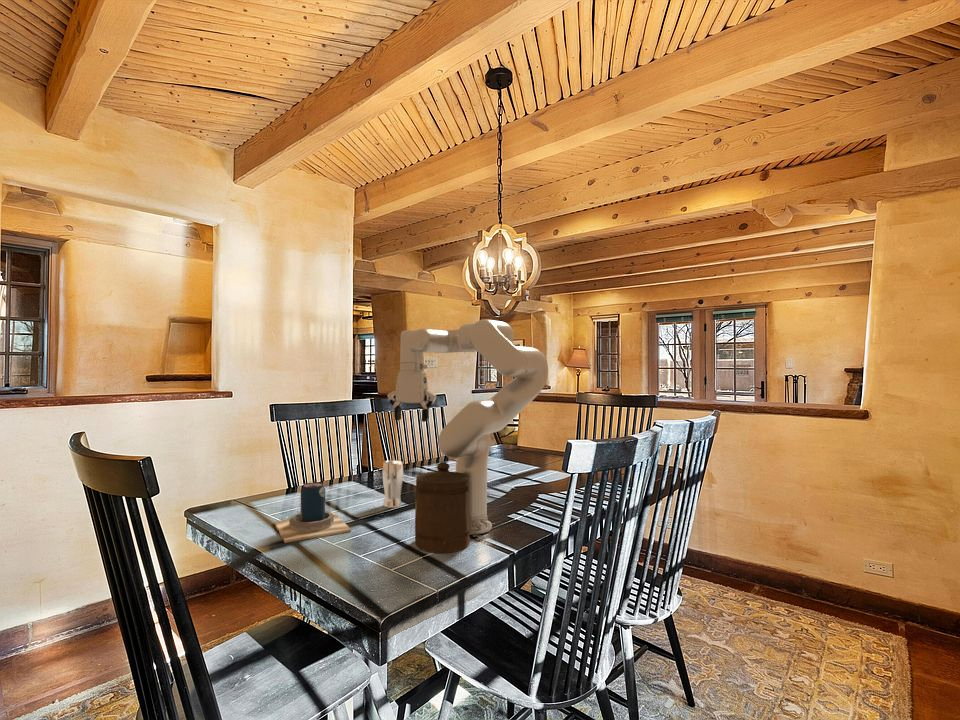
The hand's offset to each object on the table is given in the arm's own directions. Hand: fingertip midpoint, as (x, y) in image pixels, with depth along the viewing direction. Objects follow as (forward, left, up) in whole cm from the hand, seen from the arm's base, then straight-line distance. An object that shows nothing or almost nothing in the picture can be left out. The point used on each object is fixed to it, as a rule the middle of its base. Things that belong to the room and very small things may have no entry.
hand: (411, 420), depth 161 cm
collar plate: (+1, +31, -30) cm, 43 cm away
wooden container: (-29, +3, -31) cm, 42 cm away
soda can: (+1, +31, -30) cm, 43 cm away
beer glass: (+11, +2, -31) cm, 32 cm away
